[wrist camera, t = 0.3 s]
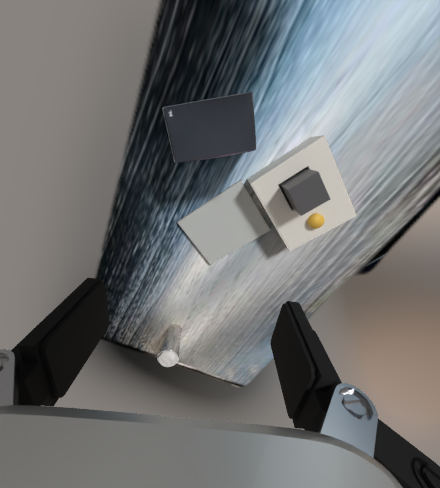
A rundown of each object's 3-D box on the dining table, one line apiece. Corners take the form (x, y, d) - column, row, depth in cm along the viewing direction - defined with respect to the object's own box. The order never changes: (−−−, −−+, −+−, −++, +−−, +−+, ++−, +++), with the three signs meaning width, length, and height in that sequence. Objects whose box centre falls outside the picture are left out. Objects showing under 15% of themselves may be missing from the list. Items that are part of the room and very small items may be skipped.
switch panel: (310, 137, 34) (327, 135, 29) (340, 207, 39) (359, 217, 33) (246, 179, 37) (250, 184, 31) (282, 240, 41) (290, 253, 36)
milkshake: (177, 317, 50) (167, 354, 41) (187, 332, 52) (180, 370, 43) (161, 323, 51) (148, 360, 42) (172, 337, 53) (161, 376, 44)
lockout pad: (240, 179, 37) (240, 180, 36) (269, 228, 41) (270, 230, 40) (178, 221, 40) (177, 222, 39) (210, 262, 44) (210, 264, 43)
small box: (186, 160, 36) (172, 165, 26) (177, 117, 33) (159, 104, 23) (247, 151, 35) (257, 152, 25) (244, 105, 32) (253, 87, 23)
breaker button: (302, 167, 33) (318, 171, 28) (313, 191, 34) (330, 199, 29) (277, 183, 34) (288, 190, 29) (289, 205, 36) (301, 215, 30)
